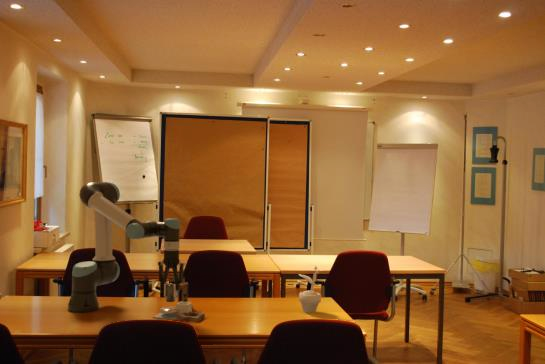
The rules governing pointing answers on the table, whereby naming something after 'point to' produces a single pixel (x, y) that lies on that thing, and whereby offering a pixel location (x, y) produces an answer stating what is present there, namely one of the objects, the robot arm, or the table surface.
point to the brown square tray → (191, 316)
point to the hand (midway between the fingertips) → (170, 296)
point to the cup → (184, 307)
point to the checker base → (166, 316)
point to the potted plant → (310, 295)
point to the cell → (170, 293)
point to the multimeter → (183, 291)
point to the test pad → (169, 310)
